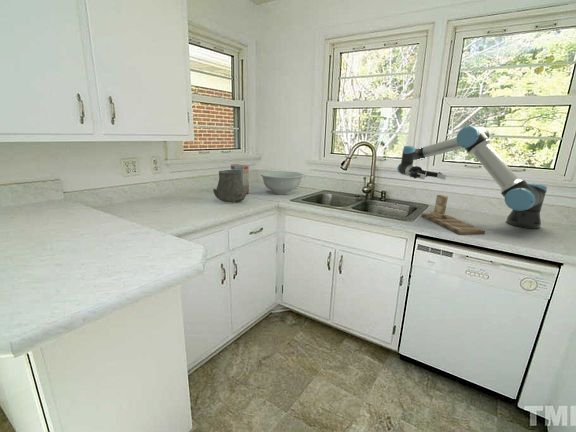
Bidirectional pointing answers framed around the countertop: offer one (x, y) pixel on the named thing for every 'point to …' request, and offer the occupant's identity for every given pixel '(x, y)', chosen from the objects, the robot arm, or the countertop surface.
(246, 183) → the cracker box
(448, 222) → the walnut board
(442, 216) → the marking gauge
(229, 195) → the vessel
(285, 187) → the bowl
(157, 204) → the countertop surface
